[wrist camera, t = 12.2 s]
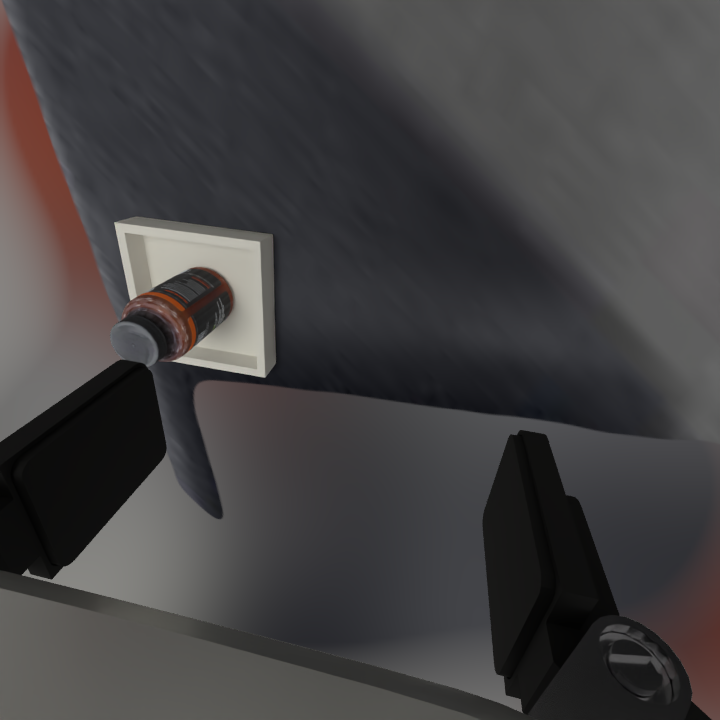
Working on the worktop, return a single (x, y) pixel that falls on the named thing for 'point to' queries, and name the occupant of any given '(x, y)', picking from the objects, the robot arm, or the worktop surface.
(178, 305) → the supplement bottle
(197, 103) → the worktop surface
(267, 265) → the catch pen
